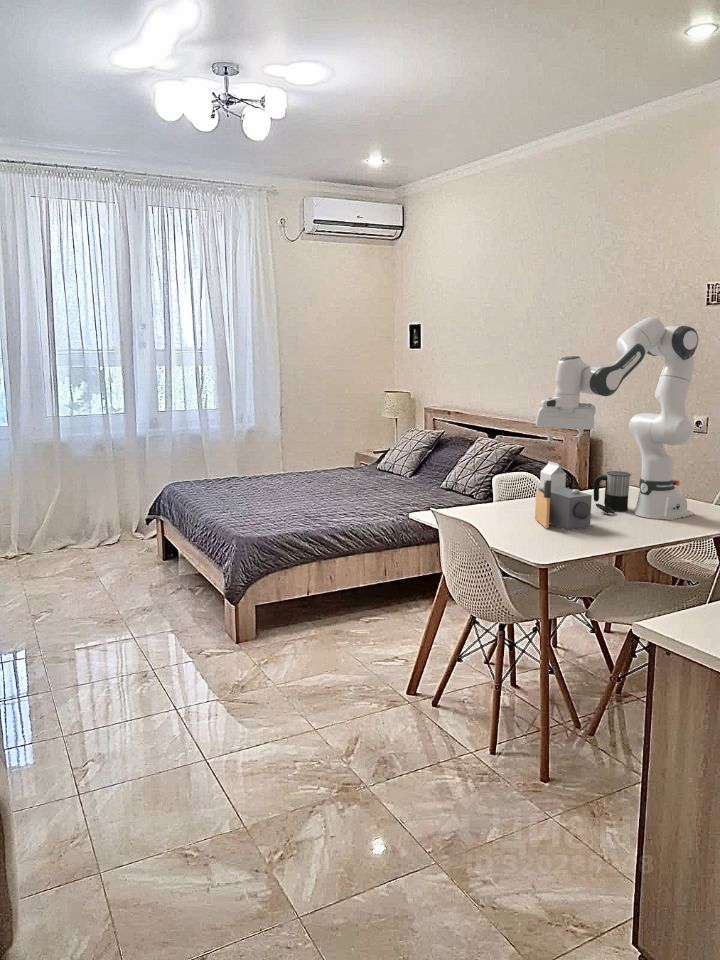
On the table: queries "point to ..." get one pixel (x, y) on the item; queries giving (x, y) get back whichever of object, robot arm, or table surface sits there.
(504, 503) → the table surface
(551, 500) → the camera body
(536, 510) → the tan flat panel
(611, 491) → the milk frother
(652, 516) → the robot arm
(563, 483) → the milk carton
